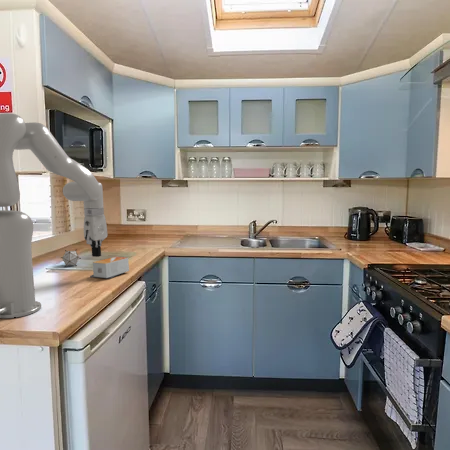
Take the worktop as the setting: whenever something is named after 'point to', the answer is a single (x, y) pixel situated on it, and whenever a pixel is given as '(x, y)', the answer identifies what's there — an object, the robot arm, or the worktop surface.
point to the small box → (110, 267)
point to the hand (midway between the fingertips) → (96, 256)
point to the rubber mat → (101, 277)
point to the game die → (70, 258)
